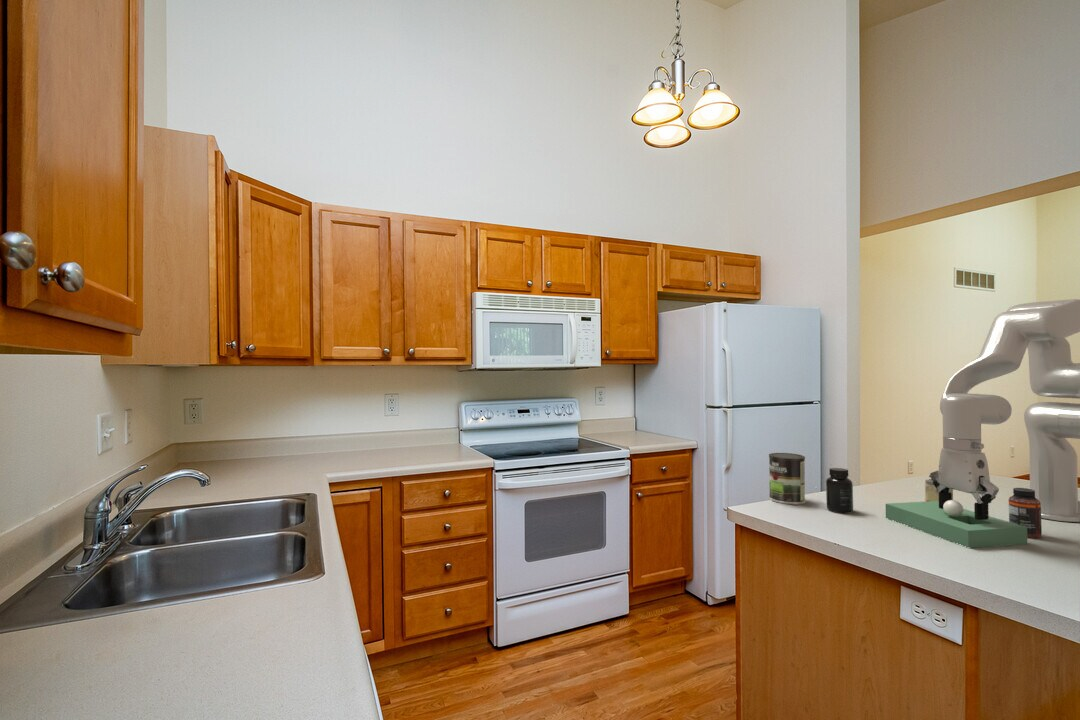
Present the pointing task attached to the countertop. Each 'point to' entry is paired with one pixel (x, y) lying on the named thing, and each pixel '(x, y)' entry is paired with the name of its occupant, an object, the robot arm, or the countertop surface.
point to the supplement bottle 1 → (839, 491)
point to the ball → (953, 508)
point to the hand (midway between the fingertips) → (962, 513)
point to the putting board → (957, 525)
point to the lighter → (932, 491)
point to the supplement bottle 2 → (1026, 511)
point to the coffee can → (787, 478)
